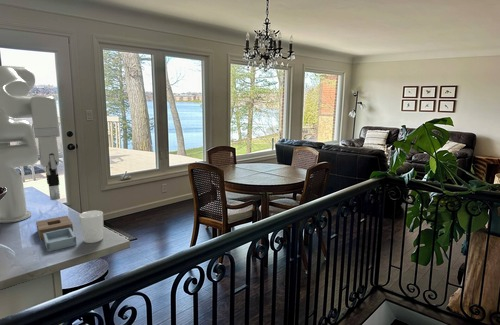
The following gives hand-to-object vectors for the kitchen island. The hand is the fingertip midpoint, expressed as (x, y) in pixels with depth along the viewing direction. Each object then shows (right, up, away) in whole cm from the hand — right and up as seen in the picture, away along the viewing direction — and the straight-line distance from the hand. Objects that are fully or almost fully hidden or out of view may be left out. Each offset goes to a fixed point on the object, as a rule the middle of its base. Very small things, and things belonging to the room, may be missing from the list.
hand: (53, 184), depth 119 cm
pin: (0, -5, +1) cm, 6 cm away
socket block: (-7, -20, +13) cm, 25 cm away
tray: (0, -22, +4) cm, 22 cm away
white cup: (+11, -21, +7) cm, 25 cm away
